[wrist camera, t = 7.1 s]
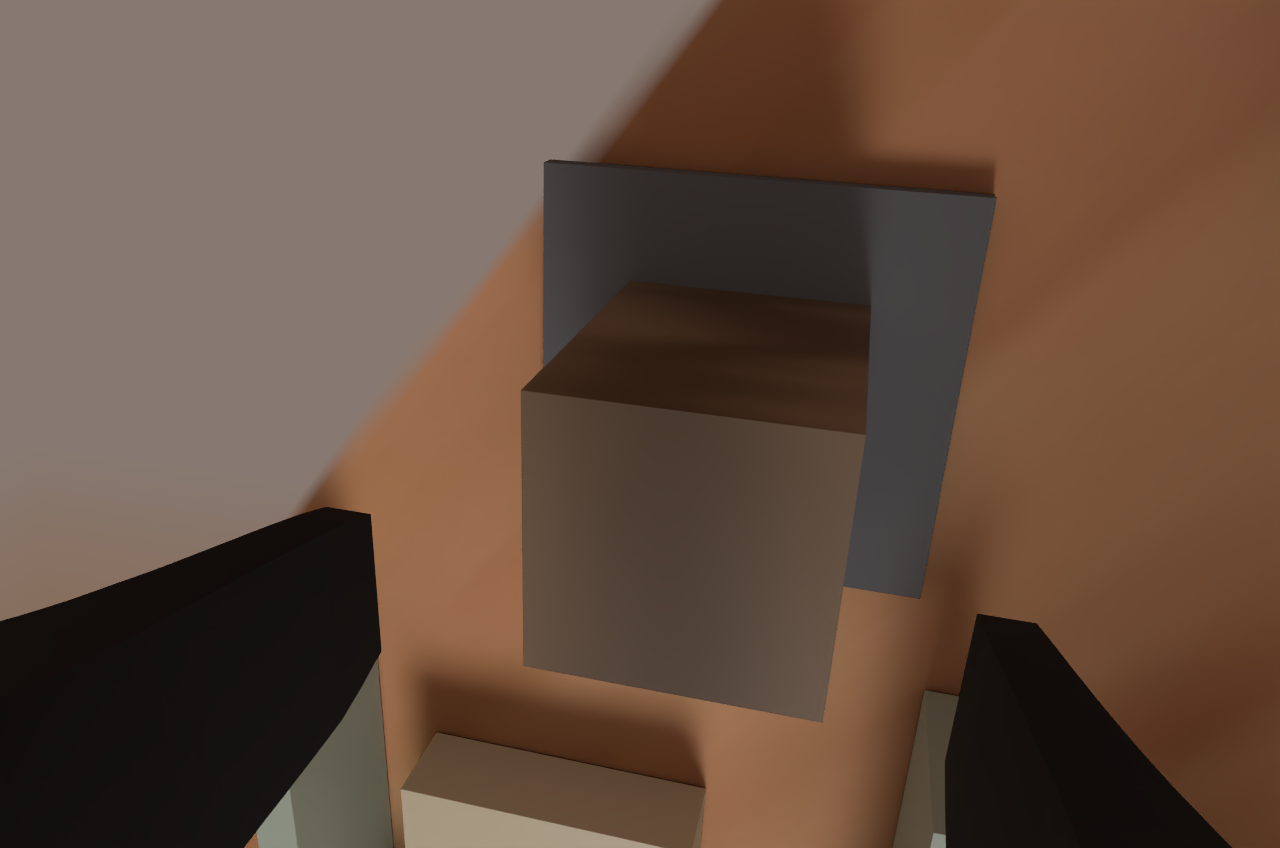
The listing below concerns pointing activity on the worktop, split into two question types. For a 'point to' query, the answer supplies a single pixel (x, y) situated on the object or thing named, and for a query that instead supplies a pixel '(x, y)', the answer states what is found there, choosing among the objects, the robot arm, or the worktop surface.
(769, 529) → the block
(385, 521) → the worktop surface
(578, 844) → the crate
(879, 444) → the mat
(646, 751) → the worktop surface
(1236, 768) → the worktop surface
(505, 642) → the worktop surface
